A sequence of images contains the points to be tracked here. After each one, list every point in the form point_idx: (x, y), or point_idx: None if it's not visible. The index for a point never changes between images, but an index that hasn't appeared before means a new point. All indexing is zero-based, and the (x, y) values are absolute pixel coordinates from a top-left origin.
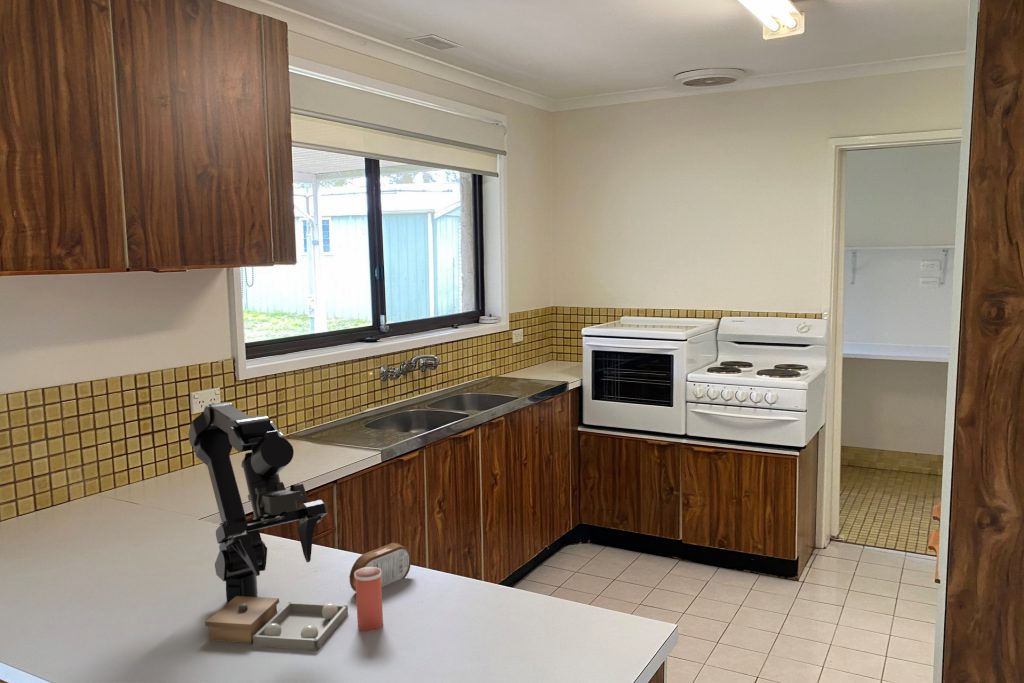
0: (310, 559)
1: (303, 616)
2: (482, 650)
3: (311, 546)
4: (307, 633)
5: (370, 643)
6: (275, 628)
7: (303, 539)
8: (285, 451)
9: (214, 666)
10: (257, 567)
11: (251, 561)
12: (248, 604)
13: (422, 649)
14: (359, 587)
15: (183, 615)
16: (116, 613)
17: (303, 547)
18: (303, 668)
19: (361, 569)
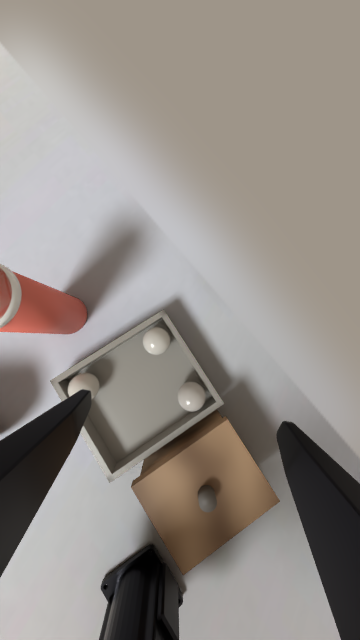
0: (79, 390)
1: (113, 428)
2: (15, 151)
3: (26, 424)
4: (165, 332)
5: (96, 280)
6: (193, 387)
7: (6, 519)
8: None
9: (278, 396)
10: (305, 442)
11: (352, 478)
12: (187, 509)
13: (62, 212)
14: (34, 296)
15: (239, 619)
16: None
17: (49, 473)
18: (198, 295)
19: None
